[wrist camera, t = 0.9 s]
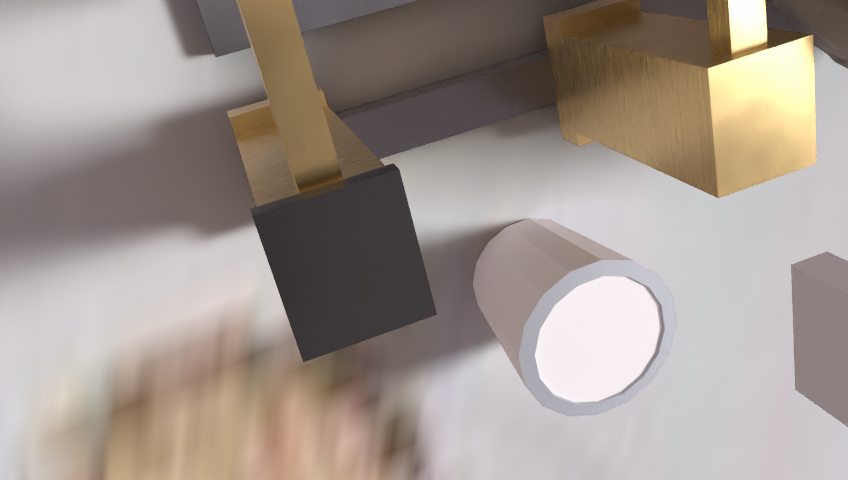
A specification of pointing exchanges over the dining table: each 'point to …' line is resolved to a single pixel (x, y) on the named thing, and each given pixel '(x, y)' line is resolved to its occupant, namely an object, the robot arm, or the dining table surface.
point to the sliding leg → (323, 201)
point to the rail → (453, 105)
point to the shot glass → (573, 316)
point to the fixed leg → (687, 90)
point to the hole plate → (314, 7)
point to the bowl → (820, 24)
